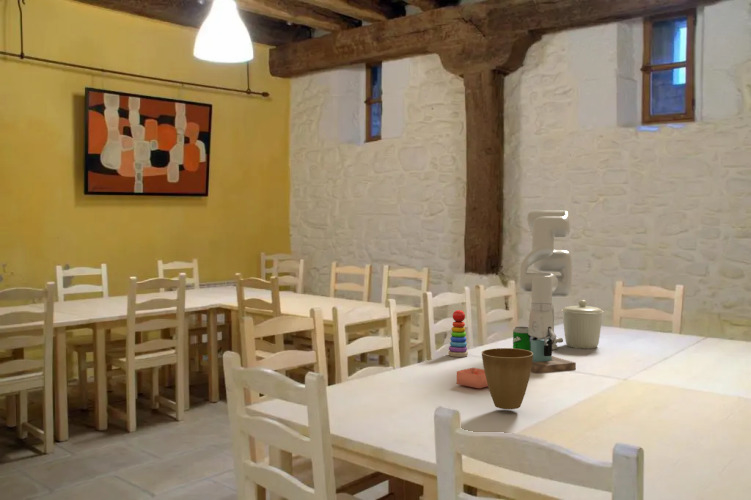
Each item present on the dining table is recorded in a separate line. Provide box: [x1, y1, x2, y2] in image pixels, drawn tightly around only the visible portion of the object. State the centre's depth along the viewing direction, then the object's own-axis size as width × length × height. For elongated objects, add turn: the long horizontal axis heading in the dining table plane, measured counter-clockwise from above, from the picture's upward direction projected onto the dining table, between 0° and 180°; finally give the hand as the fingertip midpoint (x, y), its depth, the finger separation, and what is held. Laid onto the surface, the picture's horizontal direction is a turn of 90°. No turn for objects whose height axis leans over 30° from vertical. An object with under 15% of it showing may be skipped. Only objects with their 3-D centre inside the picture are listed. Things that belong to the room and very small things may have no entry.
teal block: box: [531, 339, 553, 362], centre depth 260 cm, size 4×7×10 cm, turn 113°
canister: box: [560, 299, 605, 350], centre depth 301 cm, size 18×18×21 cm
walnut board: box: [530, 355, 577, 374], centre depth 260 cm, size 18×18×4 cm
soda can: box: [512, 326, 530, 351], centre depth 279 cm, size 8×8×12 cm
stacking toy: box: [448, 309, 469, 358], centre depth 281 cm, size 8×8×19 cm
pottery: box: [456, 367, 488, 389], centre depth 234 cm, size 18×10×10 cm, turn 136°
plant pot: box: [481, 347, 533, 410], centre depth 201 cm, size 15×15×16 cm
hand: (540, 353), depth 259 cm, fingers open, 7 cm apart
